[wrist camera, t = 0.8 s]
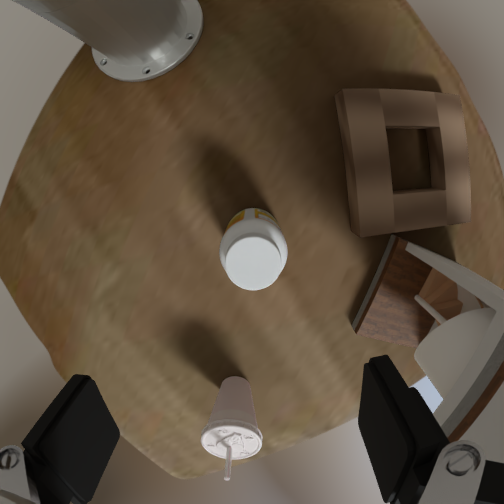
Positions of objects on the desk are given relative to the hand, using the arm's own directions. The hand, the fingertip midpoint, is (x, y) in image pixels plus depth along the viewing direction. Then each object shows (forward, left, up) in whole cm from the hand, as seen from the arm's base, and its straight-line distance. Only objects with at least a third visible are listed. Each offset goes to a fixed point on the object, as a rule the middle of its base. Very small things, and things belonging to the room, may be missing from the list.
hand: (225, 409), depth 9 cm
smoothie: (+18, -4, -23) cm, 30 cm away
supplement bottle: (-1, +1, -23) cm, 23 cm away
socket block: (-7, +18, -23) cm, 30 cm away
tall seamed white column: (+9, +18, -23) cm, 30 cm away
